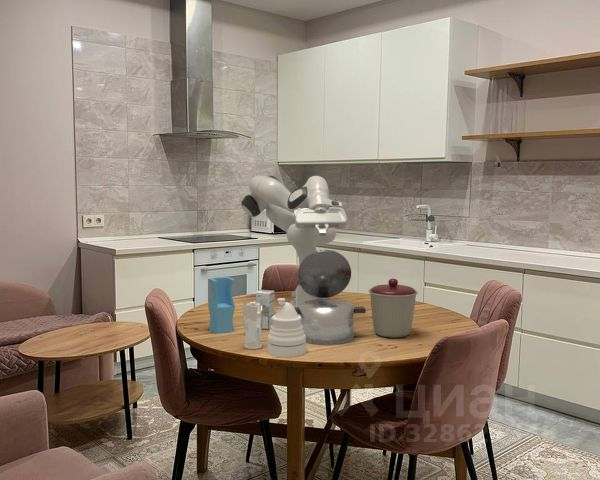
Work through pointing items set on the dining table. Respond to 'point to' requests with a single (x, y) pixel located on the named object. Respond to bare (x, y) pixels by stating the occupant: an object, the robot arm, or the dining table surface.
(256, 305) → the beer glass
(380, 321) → the canister
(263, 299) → the syrup box
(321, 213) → the robot arm
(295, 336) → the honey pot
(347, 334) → the cooker pot
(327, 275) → the cooker lid
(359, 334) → the dining table surface
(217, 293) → the blue toy chair
